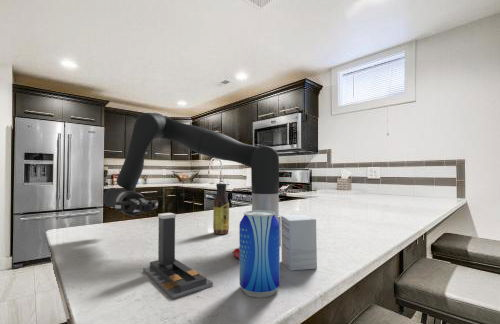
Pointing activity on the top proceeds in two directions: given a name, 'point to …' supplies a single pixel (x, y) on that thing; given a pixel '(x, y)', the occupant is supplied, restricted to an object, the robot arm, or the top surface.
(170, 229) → the fader knob
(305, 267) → the supplement box
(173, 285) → the fader track
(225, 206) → the sauce bottle
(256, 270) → the beer can
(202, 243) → the top surface
